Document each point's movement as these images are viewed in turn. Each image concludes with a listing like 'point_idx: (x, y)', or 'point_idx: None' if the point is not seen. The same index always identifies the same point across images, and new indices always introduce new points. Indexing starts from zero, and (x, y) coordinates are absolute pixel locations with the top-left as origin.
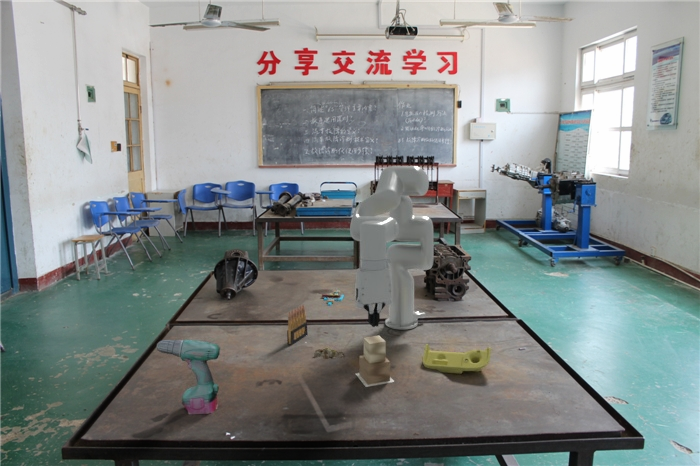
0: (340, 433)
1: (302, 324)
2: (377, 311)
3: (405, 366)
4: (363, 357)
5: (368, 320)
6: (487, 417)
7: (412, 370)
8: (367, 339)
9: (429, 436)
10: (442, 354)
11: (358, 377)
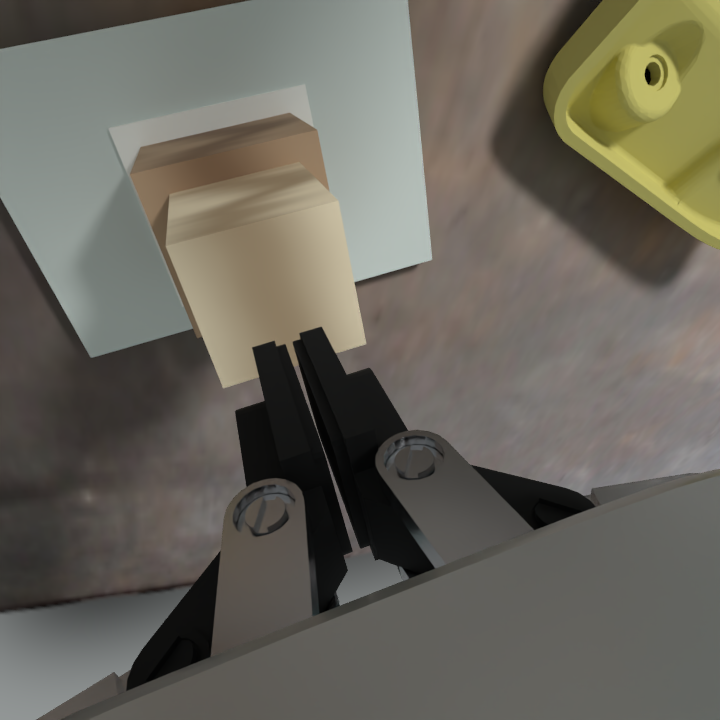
0: (84, 572)
1: None
2: (399, 569)
3: (455, 15)
4: (167, 211)
5: (239, 428)
6: (551, 463)
7: (473, 87)
8: (208, 294)
9: (367, 549)
10: (698, 31)
11: (134, 191)
